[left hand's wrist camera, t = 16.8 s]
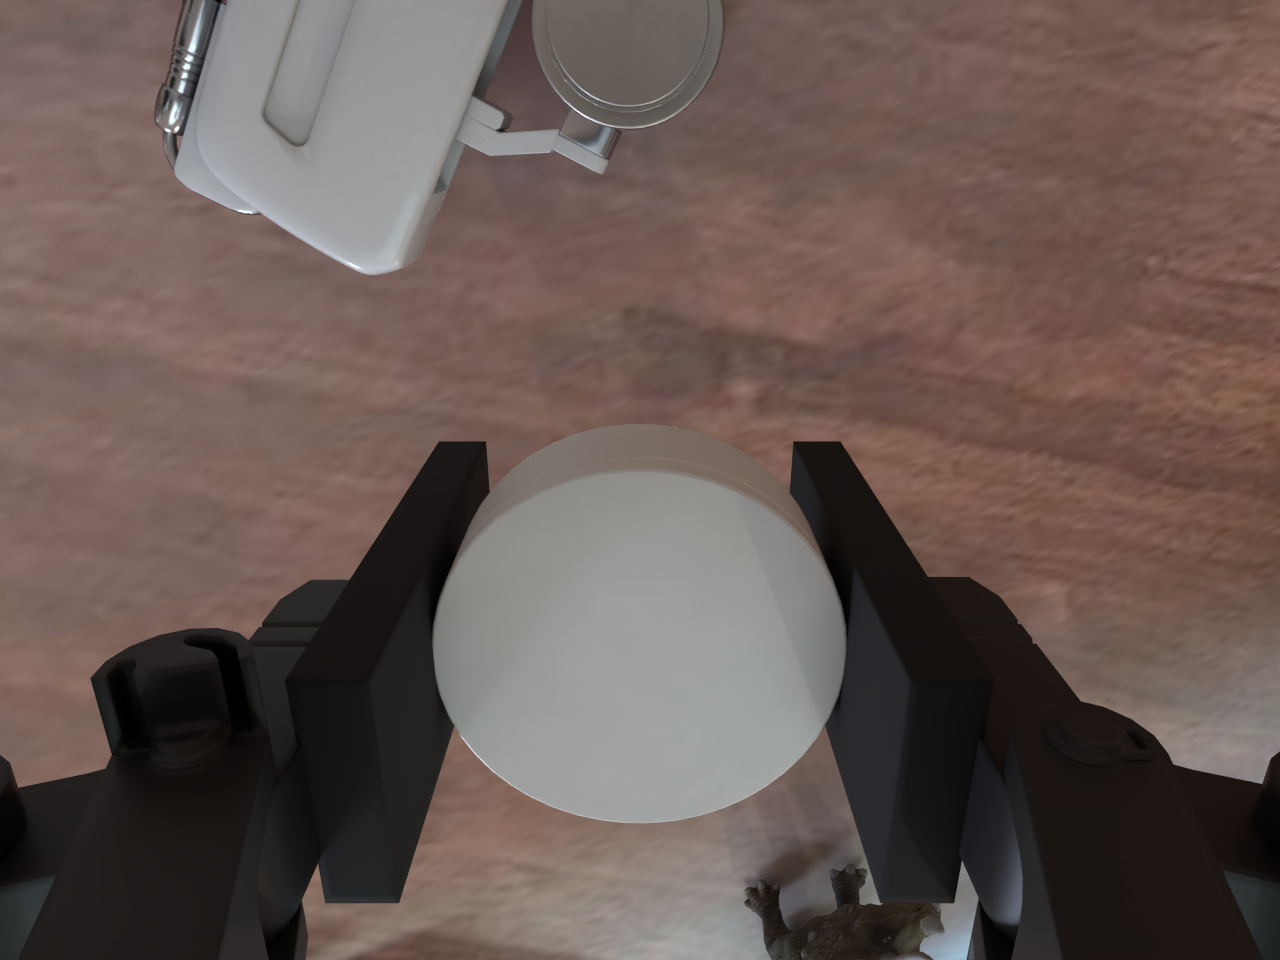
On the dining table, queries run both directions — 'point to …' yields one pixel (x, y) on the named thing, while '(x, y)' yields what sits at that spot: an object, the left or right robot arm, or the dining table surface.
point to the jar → (628, 55)
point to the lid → (639, 627)
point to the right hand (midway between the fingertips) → (654, 64)
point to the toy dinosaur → (847, 925)
